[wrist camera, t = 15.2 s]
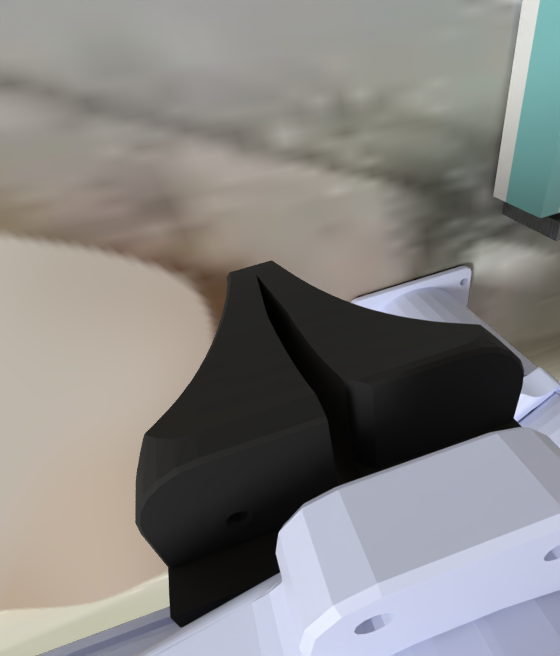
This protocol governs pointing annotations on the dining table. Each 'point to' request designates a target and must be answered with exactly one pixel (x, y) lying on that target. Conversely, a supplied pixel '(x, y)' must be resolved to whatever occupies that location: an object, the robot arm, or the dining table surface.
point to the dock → (535, 221)
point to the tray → (533, 115)
